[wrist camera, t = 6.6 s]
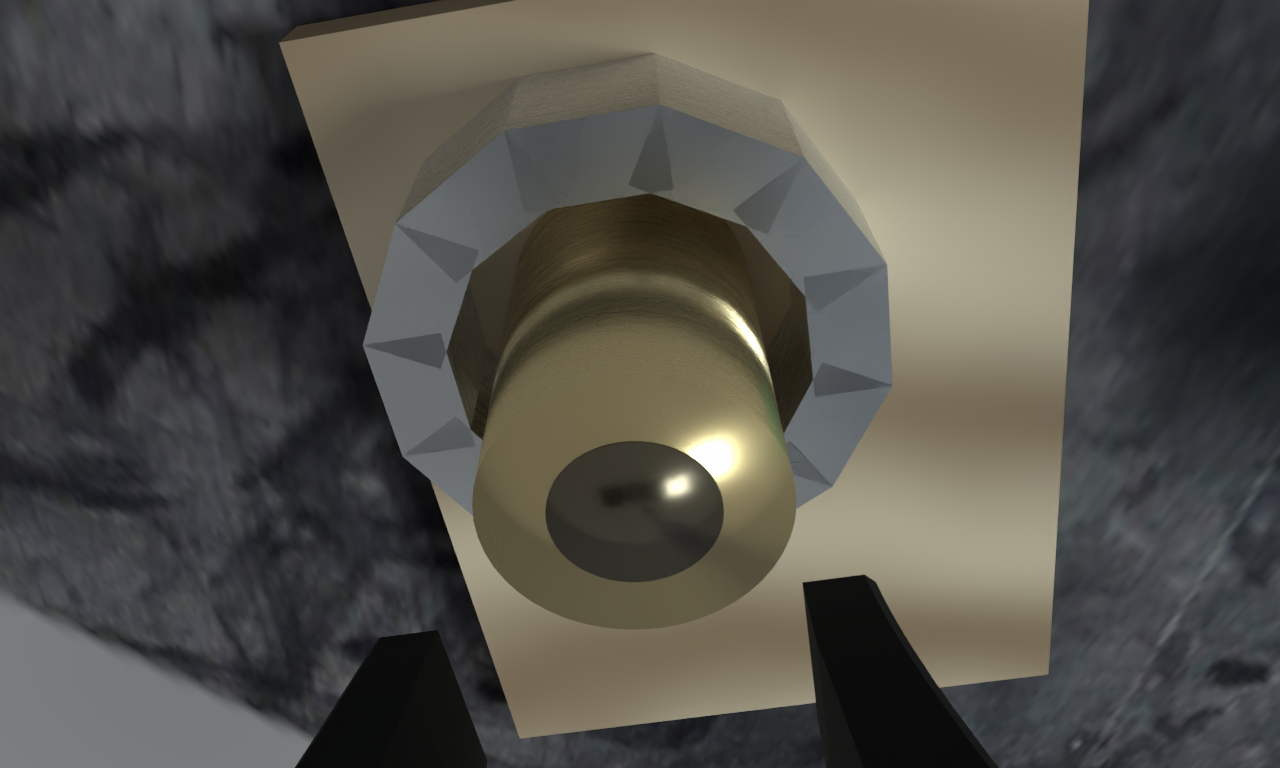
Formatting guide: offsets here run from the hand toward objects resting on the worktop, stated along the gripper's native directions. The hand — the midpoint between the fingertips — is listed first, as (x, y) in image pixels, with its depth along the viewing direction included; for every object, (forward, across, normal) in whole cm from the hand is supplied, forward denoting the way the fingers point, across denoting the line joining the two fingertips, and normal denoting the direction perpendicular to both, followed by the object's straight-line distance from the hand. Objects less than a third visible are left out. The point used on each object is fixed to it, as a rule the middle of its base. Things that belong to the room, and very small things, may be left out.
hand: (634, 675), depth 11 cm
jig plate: (+10, -2, +3) cm, 10 cm away
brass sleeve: (+9, 0, 0) cm, 9 cm away
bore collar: (+10, 0, 0) cm, 10 cm away
